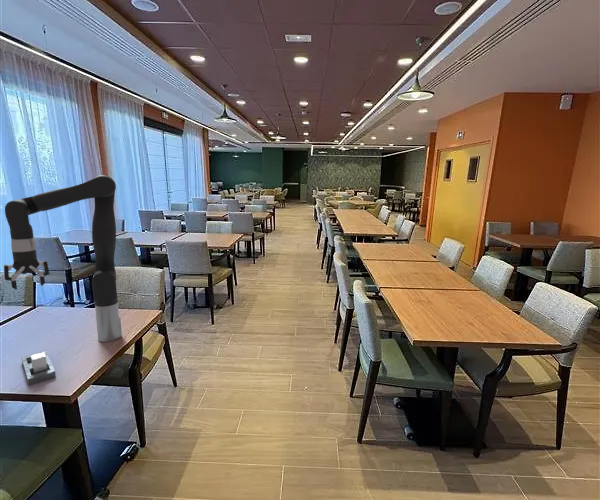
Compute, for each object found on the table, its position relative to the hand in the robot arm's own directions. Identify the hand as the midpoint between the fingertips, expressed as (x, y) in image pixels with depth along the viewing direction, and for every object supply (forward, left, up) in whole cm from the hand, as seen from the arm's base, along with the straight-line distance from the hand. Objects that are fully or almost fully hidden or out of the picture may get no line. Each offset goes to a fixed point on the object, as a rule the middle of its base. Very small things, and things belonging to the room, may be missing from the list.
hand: (29, 287), depth 138 cm
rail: (+2, +20, -28) cm, 34 cm away
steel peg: (+2, +25, -28) cm, 38 cm away
